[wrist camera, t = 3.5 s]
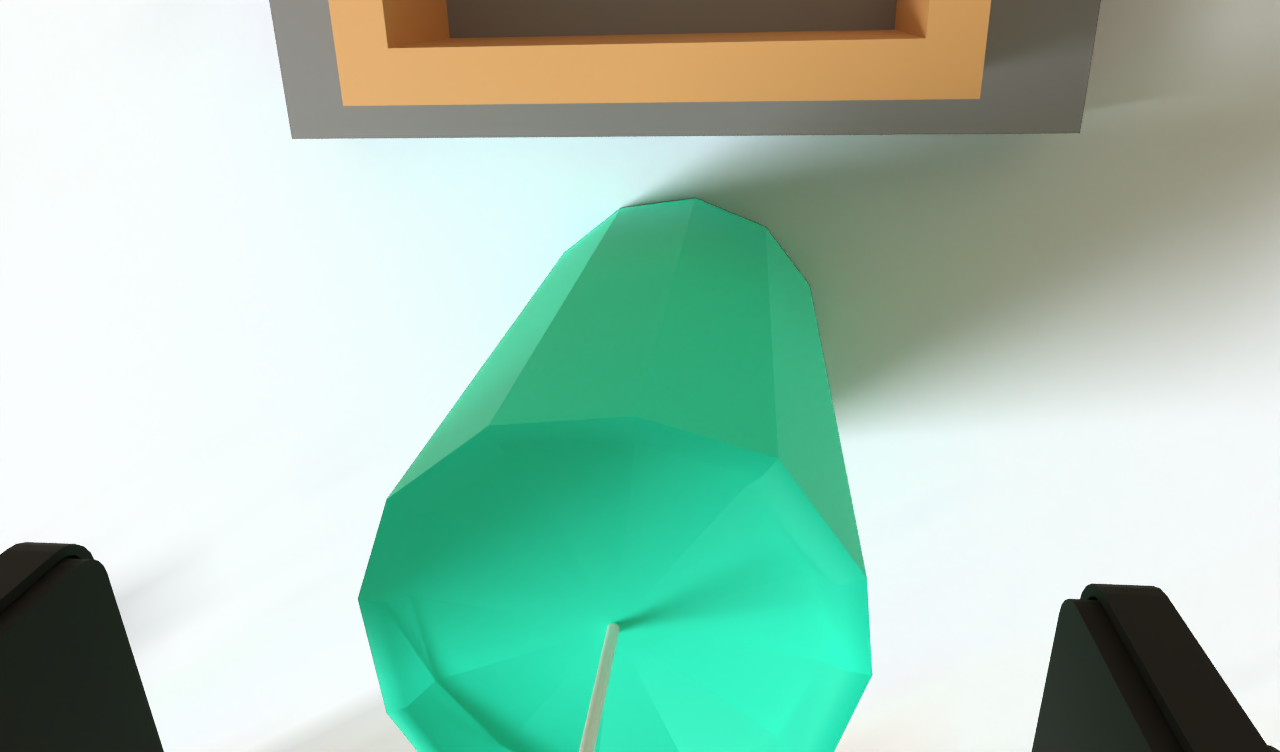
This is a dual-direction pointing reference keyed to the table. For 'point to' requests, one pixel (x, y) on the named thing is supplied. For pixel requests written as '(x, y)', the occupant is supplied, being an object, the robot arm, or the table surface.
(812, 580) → the candle
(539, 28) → the desk organizer
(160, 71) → the table surface
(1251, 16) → the table surface
